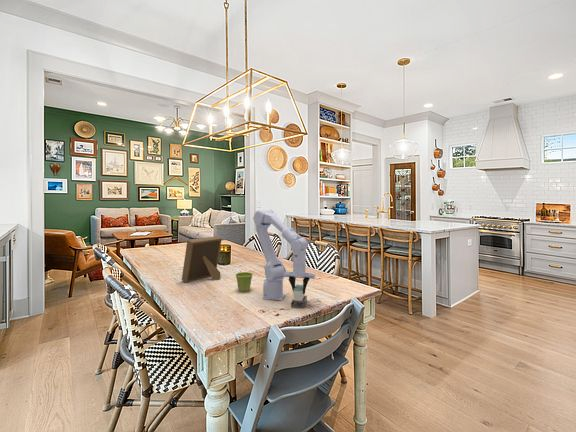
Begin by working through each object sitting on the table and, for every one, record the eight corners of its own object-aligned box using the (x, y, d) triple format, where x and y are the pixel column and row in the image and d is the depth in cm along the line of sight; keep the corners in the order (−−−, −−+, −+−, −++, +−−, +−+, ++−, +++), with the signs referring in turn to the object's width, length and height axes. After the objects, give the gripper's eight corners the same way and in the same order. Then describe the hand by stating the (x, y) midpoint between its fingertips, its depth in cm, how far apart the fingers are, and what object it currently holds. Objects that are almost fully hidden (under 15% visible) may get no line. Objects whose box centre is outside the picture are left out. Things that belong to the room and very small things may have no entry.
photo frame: (181, 281, 174) (181, 239, 173) (211, 273, 192) (211, 235, 190) (197, 286, 166) (197, 241, 164) (227, 278, 183) (227, 237, 182)
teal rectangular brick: (293, 300, 136) (293, 289, 135) (296, 294, 143) (296, 284, 143) (302, 300, 135) (302, 290, 135) (304, 295, 143) (304, 284, 142)
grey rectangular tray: (291, 307, 135) (291, 302, 135) (295, 299, 146) (295, 294, 146) (303, 308, 134) (303, 303, 134) (306, 300, 144) (306, 295, 144)
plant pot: (256, 290, 159) (256, 274, 159) (242, 294, 152) (242, 277, 152) (245, 286, 166) (245, 271, 165) (231, 290, 159) (231, 274, 158)
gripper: (282, 265, 135) (281, 294, 136) (313, 266, 132) (313, 296, 133) (285, 261, 142) (285, 289, 143) (315, 263, 139) (315, 292, 140)
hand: (299, 293), depth 139 cm, fingers closed on teal rectangular brick, 4 cm apart
